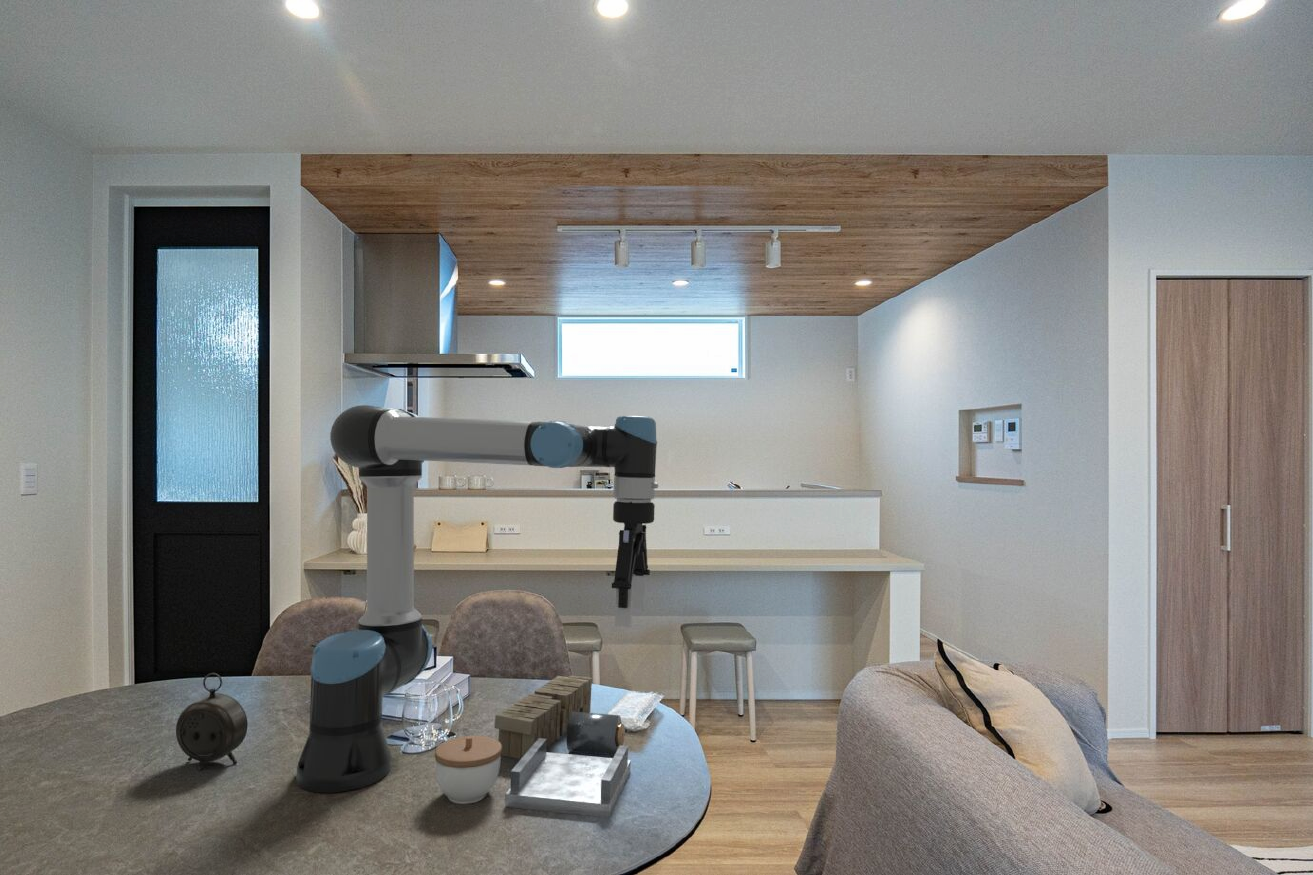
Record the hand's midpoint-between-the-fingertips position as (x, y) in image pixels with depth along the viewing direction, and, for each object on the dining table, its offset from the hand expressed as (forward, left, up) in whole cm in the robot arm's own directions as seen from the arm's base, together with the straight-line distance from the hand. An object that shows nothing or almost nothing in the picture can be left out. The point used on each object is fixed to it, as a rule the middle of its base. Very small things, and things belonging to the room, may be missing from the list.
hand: (630, 617), depth 131 cm
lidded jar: (-24, -16, -27) cm, 39 cm away
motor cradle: (-8, -4, -27) cm, 28 cm away
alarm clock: (-73, -15, -27) cm, 79 cm away
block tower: (-20, +13, -28) cm, 36 cm away
